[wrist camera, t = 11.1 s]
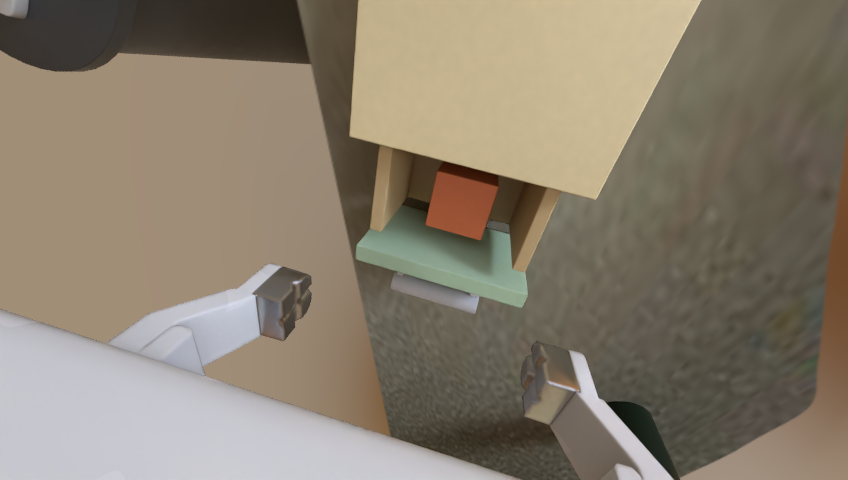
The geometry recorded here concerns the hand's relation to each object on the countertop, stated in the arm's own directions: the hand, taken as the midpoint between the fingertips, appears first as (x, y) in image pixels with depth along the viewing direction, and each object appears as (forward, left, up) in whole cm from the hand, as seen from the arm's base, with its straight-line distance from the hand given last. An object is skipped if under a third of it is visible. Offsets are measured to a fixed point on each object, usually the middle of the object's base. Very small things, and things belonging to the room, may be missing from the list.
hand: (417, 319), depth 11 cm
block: (0, 0, -15) cm, 15 cm away
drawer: (0, 0, -16) cm, 16 cm away
